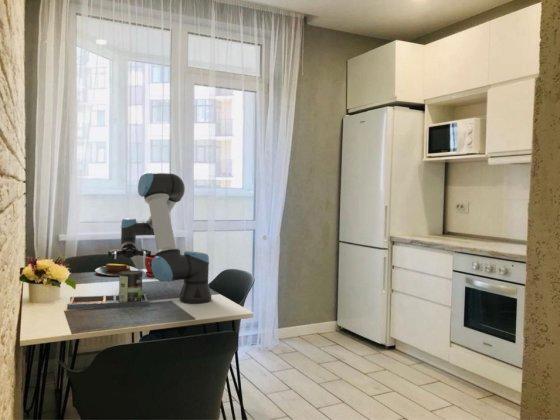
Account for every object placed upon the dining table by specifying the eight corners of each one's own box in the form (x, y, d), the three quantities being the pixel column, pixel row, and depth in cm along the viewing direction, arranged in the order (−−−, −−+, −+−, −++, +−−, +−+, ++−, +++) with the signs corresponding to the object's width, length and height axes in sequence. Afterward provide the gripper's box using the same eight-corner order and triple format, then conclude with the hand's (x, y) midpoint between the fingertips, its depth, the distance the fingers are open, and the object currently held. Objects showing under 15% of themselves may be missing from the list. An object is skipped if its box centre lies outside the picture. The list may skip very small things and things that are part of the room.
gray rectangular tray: (147, 297, 228) (147, 293, 228) (149, 305, 214) (149, 301, 214) (70, 301, 217) (70, 296, 217) (67, 309, 203) (67, 304, 203)
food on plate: (138, 270, 306) (138, 260, 306) (138, 277, 282) (139, 266, 282) (96, 270, 299) (96, 260, 298) (93, 278, 275) (93, 266, 275)
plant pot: (139, 275, 285) (140, 256, 285) (155, 272, 297) (155, 253, 296) (156, 278, 279) (156, 258, 279) (171, 275, 291) (171, 255, 290)
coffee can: (144, 300, 224) (145, 270, 223) (137, 305, 213) (138, 274, 213) (123, 299, 224) (123, 269, 223) (115, 304, 213) (115, 273, 213)
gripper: (153, 256, 251) (157, 263, 231) (103, 257, 243) (102, 264, 223) (153, 242, 251) (157, 248, 231) (103, 242, 242) (102, 248, 222)
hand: (130, 256), depth 227 cm, fingers open, 13 cm apart
